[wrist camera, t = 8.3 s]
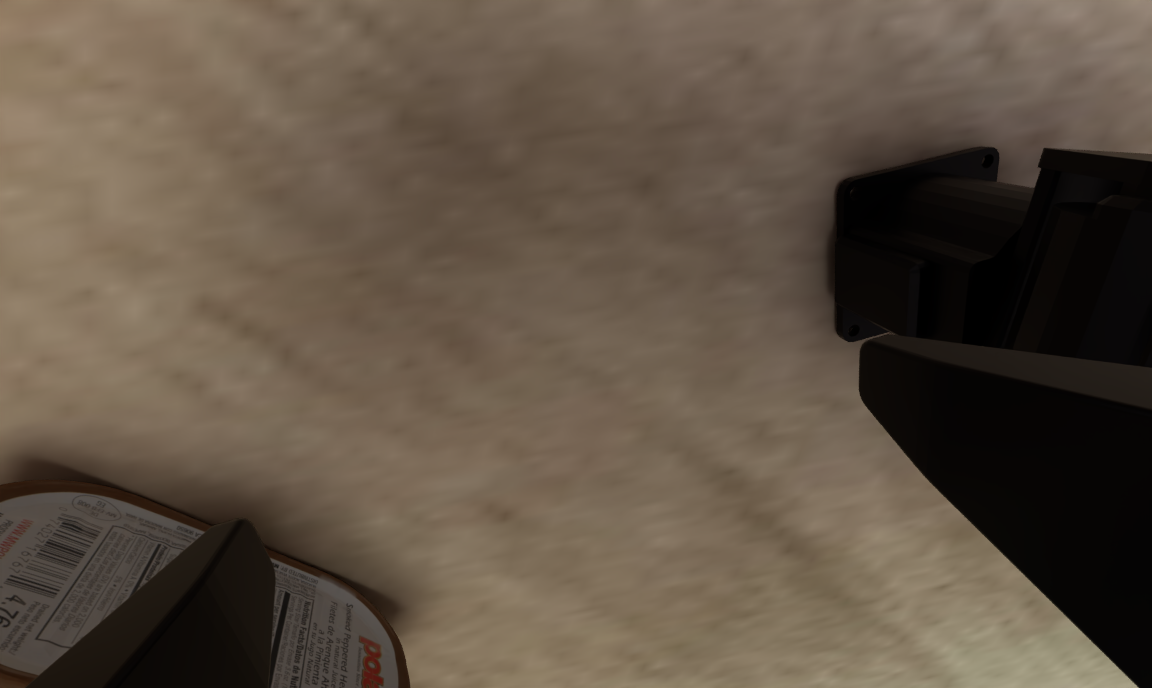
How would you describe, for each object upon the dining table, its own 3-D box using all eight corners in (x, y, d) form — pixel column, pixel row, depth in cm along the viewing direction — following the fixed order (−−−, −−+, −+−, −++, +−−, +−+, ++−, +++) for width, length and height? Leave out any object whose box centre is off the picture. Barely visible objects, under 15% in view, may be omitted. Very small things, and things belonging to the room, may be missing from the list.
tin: (-33, 497, 20) (-309, 752, 12) (14, 423, 19) (-244, 642, 12) (379, 647, 26) (365, 877, 18) (423, 594, 26) (427, 809, 18)
